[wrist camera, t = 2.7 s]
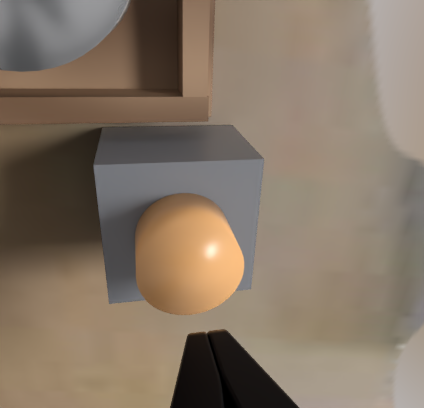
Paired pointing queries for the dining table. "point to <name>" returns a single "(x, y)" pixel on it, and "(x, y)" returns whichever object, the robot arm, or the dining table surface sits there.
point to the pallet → (126, 72)
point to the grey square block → (172, 188)
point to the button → (186, 255)
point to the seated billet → (53, 30)
